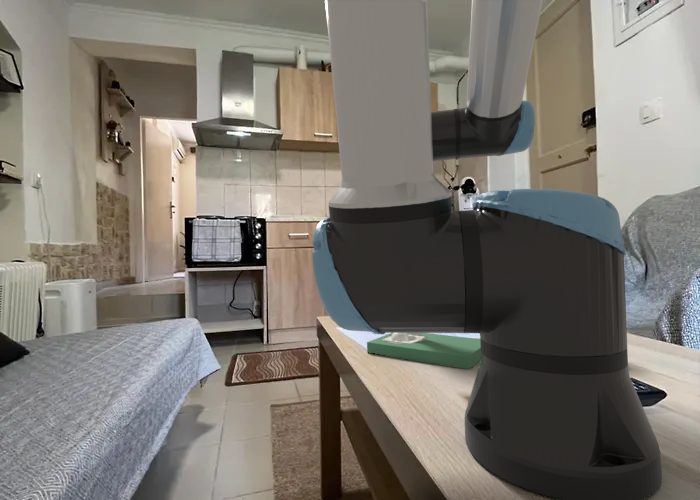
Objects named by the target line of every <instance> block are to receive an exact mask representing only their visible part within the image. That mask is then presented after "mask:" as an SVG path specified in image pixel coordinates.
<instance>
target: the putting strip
mask: <svg viewBox="0 0 700 500" xmlns="http://www.w3.org/2000/svg"><path fill="white" fill-rule="evenodd" d="M392 334H393V333H386V334H384V335H382V336H379V337H377V338H374V339H372V340H370V341H367V342H366V347H367V348H366V351H367V352H369V353H368V354H370V353H375V354H374V355H377V354H380V355H379V356H383V355H386V356H385V357H389V356H390V357H389V358H395V359H396V358H397V359H403V360H408V361H416V362H421V363H425V364H427V363H428V364H434V365H438V366H439V365H441V366H445V367H454V368H459V369H465V370H471V368H472V367H474V366H475V365H476V364H477V363H478V362H480V361H481V344H480V338H475V337H474V338H473V337H466V336H457V335H447V334H440V333H420V334H411V333H407V334H408V336H409V341H394V340H392V339H391V336H392Z"/></svg>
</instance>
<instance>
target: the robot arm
mask: <svg viewBox="0 0 700 500" xmlns="http://www.w3.org/2000/svg"><path fill="white" fill-rule="evenodd" d="M543 1H544V0H471V10H470V11H471V13H470V14H471V15H470V16H471V17H470V27H469V28H470V31H469V47H468V48H469V49H468V50H469V51H468V66H467V70H468V71H467V83H466V84H467V85H466V89H467V90H466V106H465V107H460V108H454V109H445V110H437V111H432V97H431V73H430V72H431V71H430V70H431V69H430V68H431V67H430V48H429V47H430V46H429V45H430V44H429V21H428V20H429V19H428V18H429V17H428V0H324V3H325V13H326V14H325V15H326V24H327V25H326V26H327V34H328V45H329V55H330V66H331V67H330V68H331V76H332V78H331V79H332V86H333V88H332V89H333V96H334V107H335V117H336V118H335V119H336V129H337V139H338V151H339V161H340V171H341V184H340V186H339V187H338V189H337V190H336V191H335V192H334V194H333V195H332V196H331V198H330V199H329V200H328V201H327V203H328V204H327V205H328V214H329V216H327V217H324V219H322V220H320V221H319V222H318V223H317V224H316V226H315V228H314V231H313V236H312V237H313V238H312V246H313V252H312V255H311V256H312V257H311V259H312V267H313V268H312V269H313V275H314V280H315V284H316V288H317V291H318V294H319V298H320V301H321V304H322V305H323V307H324V310H325V311H326V313H327V315H328V316H329V318H330V319H331V320H332V321H333V322H334V323H335V324H336V325H337V326H338V327H339V328H342V329H343V330H347V331H353V332H354V331H355V332H366V333H367V332H368V333H369V332H370V333H373V334H376V335H385V334H390V333H411V334H420V333H430V334H450V333H451V334H479V339H480V344H481V360H480V361H479V362H480V363H479V365H478V369H477V373H476V375H475V379H474V383H473V386H472V388H471V393H470V395H469V399H468V402H467V404H466V405H467V406H466V409H465V413H464V440H465V445H466V446H467V447H466V448H467V449H468V451H469V453H470V454H471V455H472V456H473V457H474V459H475V460H476V461H477V462H478V463H480V465H481V466H483V467H484V468H486V469H487V470H488V471H490V472H491V473H493V474H495V475H496V476H497V477H500V478H501V479H503V480H505V481H506V482H509V483H511V484H513V485H515V486H517V487H520V488H523V489H525V490H527V491H531V492H533V493H536V494H538V495H542V496H546V497H550V498H553V499H558V500H645V499H648V498H649V497H650V496H652V495H654V494H655V493H656V492H657V491H658V490H659V489H660V487H661V484H662V482H663V481H662V480H663V478H662V477H663V476H662V473H663V472H662V456H661V455H662V454H661V453H662V452H661V450H660V446H659V443H658V440H657V437H656V435H655V434H654V433H655V432H654V430H653V429H652V425H651V423H650V421H649V419H648V416H647V413H646V411H645V409H644V407H643V405H642V402H641V400H640V397H639V395H638V393H637V390H636V388H635V385H634V383H633V381H632V379H631V376H630V372H629V371H630V370H629V356H628V334H627V330H628V329H627V328H628V327H627V305H626V303H627V302H626V280H625V279H626V275H625V257H626V255H627V250H626V247H625V246H624V241H623V240H624V239H623V234H622V229H621V227H622V226H621V221H620V214H619V211H618V209H617V208H616V205H614V203H612V202H611V201H610V200H608V199H606V198H604V197H601V196H598V195H595V194H593V193H588V192H581V191H572V190H563V189H549V188H548V189H544V188H543V189H542V188H516V189H511V190H504V189H503V190H491V191H487V192H482V193H480V194H478V195H477V196H475V198H474V202H473V203H472V209H470V210H469V209H468V210H453V204H452V203H453V202H452V201H453V200H452V191H451V190H450V189H449V188H448V187H447V186H446V185H445V184H443V183H442V181H440V179H438V178H437V177H436V175H435V171H434V170H435V169H434V162H438V161H447V160H448V161H449V160H457V159H468V158H481V157H493V156H496V157H500V156H506V155H511V154H516V153H517V154H518V153H523V152H525V151H526V150H528V149H529V148H530V146H531V144H532V143H533V140H534V134H535V126H536V116H535V115H536V113H535V109H534V106H533V104H532V103H531V101H529V100H524V95H525V89H526V84H527V80H528V75H529V70H530V66H531V61H532V55H533V50H534V45H535V42H536V41H535V40H536V38H537V37H536V36H537V31H538V26H539V22H540V17H541V12H542V6H543Z"/></svg>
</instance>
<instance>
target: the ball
mask: <svg viewBox="0 0 700 500" xmlns="http://www.w3.org/2000/svg"><path fill="white" fill-rule="evenodd" d="M391 339H392V340H394V341H409V336H408V334H407V333H393V334H392V336H391Z"/></svg>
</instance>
